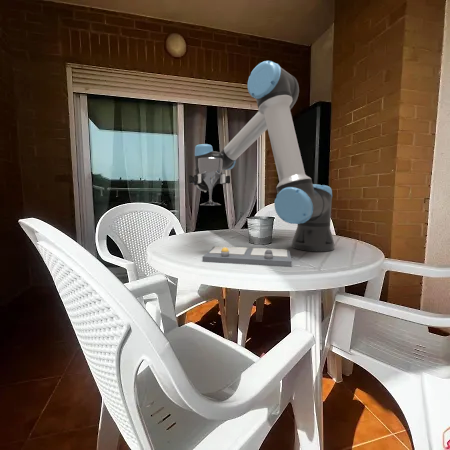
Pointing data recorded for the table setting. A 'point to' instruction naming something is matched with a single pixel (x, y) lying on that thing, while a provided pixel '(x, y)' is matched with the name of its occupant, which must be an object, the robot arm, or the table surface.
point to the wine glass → (210, 174)
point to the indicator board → (249, 256)
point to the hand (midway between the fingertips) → (212, 178)
